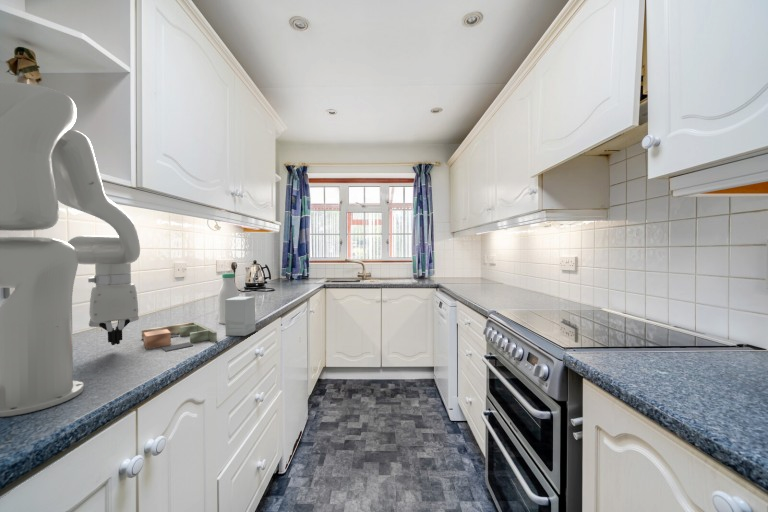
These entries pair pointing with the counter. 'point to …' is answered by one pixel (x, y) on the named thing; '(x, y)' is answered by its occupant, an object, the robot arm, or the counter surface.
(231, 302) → the supplement box
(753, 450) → the counter surface
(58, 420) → the counter surface
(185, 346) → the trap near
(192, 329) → the green-grey pronged frame
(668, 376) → the counter surface
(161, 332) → the block
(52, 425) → the counter surface
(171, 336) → the plate
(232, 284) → the milk bottle
